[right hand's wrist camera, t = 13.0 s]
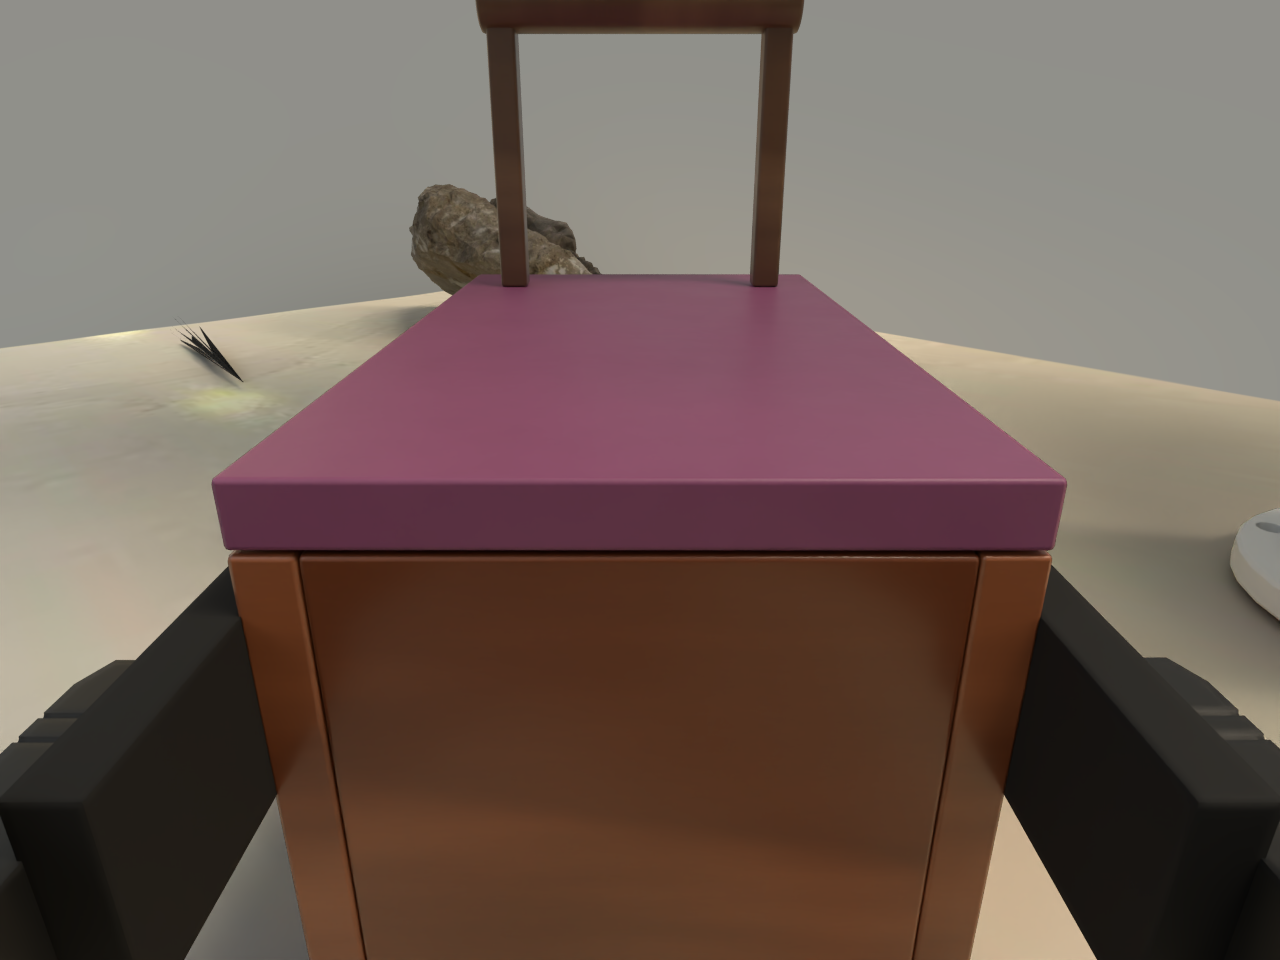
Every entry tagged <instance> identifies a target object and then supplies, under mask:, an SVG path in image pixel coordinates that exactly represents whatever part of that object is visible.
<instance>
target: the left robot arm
mask: <svg viewBox="0 0 1280 960" xmlns="http://www.w3.org/2000/svg"><path fill="white" fill-rule="evenodd" d="M1230 566H1231V569H1232V571H1233V573H1234V575H1235V577H1236V580H1237V581H1238V583H1239V584H1240V585H1241V586H1242V587H1243V588H1244V589H1245V590H1246V592H1247V593H1248V594H1249V595H1250V596H1251V597H1252V598H1253V599H1254V600H1255V602H1256V603H1258V604H1259V605H1260V606H1262V607H1263V608H1264V609H1265V610H1267V611H1268V612H1269V613H1270V614H1272V615H1273V616H1274V617H1276V618H1277V619H1278V620H1279V621H1280V508H1277V509H1273V510H1270V511H1267V512H1264V513H1261V514H1258V515H1256V516H1253V517H1252V518H1250V519H1249V520H1248V521H1246V522H1245V523H1243V524H1242V525H1241V526H1240V528H1239V531H1238V533H1237V535H1236V538H1235V542H1234V545H1233V548H1232V551H1231V558H1230Z"/></svg>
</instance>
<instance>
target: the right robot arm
mask: <svg viewBox="0 0 1280 960" xmlns="http://www.w3.org/2000/svg"><path fill="white" fill-rule="evenodd" d="M276 795H277V792H276V787H275V782H274V777H273V772H272V767H271V762H270V758H269V753H268V748H267V743H266V738H265V733H264V728H263V723H262V719H261V714H260V709H259V704H258V699H257V694H256V689H255V684H254V679H253V675H252V670H251V665H250V660H249V655H248V650H247V645H246V640H245V636H244V631H243V626H242V621H241V617H239V614H238V609H237V605H236V600H235V595H234V590H233V585H232V580H231V575H230V571H229V566H228V567H227V568H226V569H225V570H224V571H223V572H222V573H221V574H220V575H219V576H218V577H217V578H216V579H215V580H214V581H213V582H212V583H211V584H210V585H209V586H208V587H207V588H206V589H205V590H204V591H203V592H202V593H201V594H200V595H199V596H198V597H197V598H196V599H195V600H194V601H193V602H192V603H191V604H190V605H189V607H188V608H187V609H186V610H185V611H184V612H183V613H182V614H181V615H180V616H179V617H178V618H177V619H176V620H175V621H174V622H173V623H172V624H171V625H170V626H169V627H168V628H167V629H166V630H165V631H164V632H163V633H162V634H161V635H160V636H159V637H158V638H157V639H156V640H155V641H154V642H153V643H152V644H151V645H150V646H149V647H148V648H147V649H146V650H145V651H144V652H143V653H142V654H141V655H140V656H139V657H138V658H137V659H136V660H115V661H114V662H112V663H110V664H108V665H107V666H105V667H103V668H101V669H100V670H98V671H96V672H95V673H93V674H91V675H89V676H88V677H86V678H84V679H83V680H81V681H79V682H77V683H76V684H74V685H73V686H72V687H71V688H70V689H69V690H68V691H67V692H65V693H64V694H63V695H62V696H61V697H60V698H59V699H58V700H57V701H56V702H55V703H54V704H53V705H52V706H51V707H50V708H49V709H48V710H46V711H45V712H44V717H43V718H38V719H37V720H36V721H35V722H34V723H33V724H32V725H31V726H30V727H28V728H27V729H26V730H25V731H24V732H23V733H22V734H21V735H20V736H19V741H18V743H12V744H10V745H9V746H8V747H7V748H6V749H5V750H4V751H3V752H2V753H1V754H0V960H184V959H185V957H186V955H187V953H188V952H189V950H190V948H191V946H192V945H193V943H194V941H195V939H196V937H197V936H198V934H199V932H200V930H201V929H202V927H203V925H204V923H205V921H206V920H207V918H208V916H209V914H210V913H211V911H212V909H213V907H214V905H215V904H216V902H217V900H218V898H219V897H220V895H221V893H222V891H223V889H224V888H225V886H226V884H227V882H228V881H229V879H230V877H231V875H232V873H233V872H234V870H235V868H236V866H237V865H238V863H239V861H240V859H241V857H242V856H243V854H244V852H245V850H246V849H247V847H248V845H249V843H250V841H251V840H252V838H253V836H254V834H255V833H256V831H257V829H258V827H259V825H260V824H261V822H262V820H263V818H264V817H265V815H266V813H267V811H268V809H269V808H270V806H271V804H272V802H273V801H274V799H275V797H276ZM1004 795H1005V797H1006V799H1007V801H1008V802H1009V804H1010V806H1011V808H1012V809H1013V811H1014V813H1015V815H1016V816H1017V818H1018V820H1019V822H1020V824H1021V825H1022V827H1023V829H1024V831H1025V832H1026V834H1027V836H1028V838H1029V840H1030V841H1031V843H1032V845H1033V847H1034V848H1035V850H1036V852H1037V854H1038V856H1039V857H1040V859H1041V861H1042V863H1043V864H1044V866H1045V868H1046V870H1047V872H1048V873H1049V875H1050V877H1051V879H1052V880H1053V882H1054V884H1055V886H1056V888H1057V889H1058V891H1059V893H1060V895H1061V896H1062V898H1063V900H1064V902H1065V904H1066V905H1067V907H1068V909H1069V911H1070V912H1071V914H1072V916H1073V918H1074V920H1075V921H1076V923H1077V925H1078V927H1079V928H1080V930H1081V932H1082V934H1083V936H1084V937H1085V939H1086V941H1087V943H1088V944H1089V946H1090V948H1091V950H1092V952H1093V953H1094V955H1095V957H1096V959H1097V960H1280V749H1279V748H1278V747H1277V746H1276V745H1275V744H1274V743H1273V742H1272V741H1271V740H1265V739H1264V737H1263V733H1262V732H1261V731H1260V730H1259V729H1258V728H1257V727H1256V726H1255V725H1254V724H1253V723H1252V722H1250V721H1249V720H1248V719H1247V718H1246V717H1245V716H1239V714H1238V709H1237V708H1236V707H1234V706H1233V705H1232V704H1231V703H1230V702H1229V701H1228V700H1227V699H1226V698H1225V697H1224V696H1223V695H1222V694H1221V693H1220V692H1219V691H1217V690H1216V689H1215V688H1214V687H1213V686H1212V685H1211V684H1210V683H1209V682H1208V681H1206V680H1204V679H1202V678H1201V677H1199V676H1197V675H1196V674H1194V673H1192V672H1190V671H1189V670H1187V669H1185V668H1183V667H1182V666H1180V665H1178V664H1176V663H1175V662H1173V661H1171V660H1170V659H1168V658H1143V657H1142V656H1141V655H1140V654H1139V653H1138V652H1137V651H1136V650H1135V649H1134V648H1133V647H1132V646H1131V645H1130V644H1129V643H1128V642H1127V641H1126V640H1125V639H1124V638H1123V637H1122V636H1121V635H1120V634H1119V633H1118V632H1117V631H1116V630H1115V629H1114V628H1113V627H1112V626H1111V625H1110V624H1109V623H1108V622H1107V621H1106V620H1105V619H1104V617H1103V616H1102V615H1101V614H1100V613H1099V612H1098V611H1097V610H1096V609H1095V608H1094V607H1093V606H1092V605H1091V604H1090V603H1089V602H1088V601H1087V600H1086V599H1085V598H1084V597H1083V596H1082V595H1081V594H1080V593H1079V592H1078V591H1077V590H1076V589H1075V588H1074V587H1073V586H1072V585H1071V584H1070V583H1069V582H1068V581H1067V580H1066V579H1065V578H1064V577H1063V576H1062V575H1061V574H1060V573H1059V572H1058V571H1057V570H1056V569H1055V568H1054V567H1053V566H1052V565H1051V569H1050V573H1049V578H1048V583H1047V588H1046V593H1045V598H1044V603H1043V607H1042V612H1041V617H1040V621H1039V626H1038V631H1037V636H1036V641H1035V646H1034V650H1033V655H1032V660H1031V665H1030V670H1029V675H1028V680H1027V684H1026V689H1025V694H1024V699H1023V704H1022V709H1021V714H1020V719H1019V723H1018V728H1017V733H1016V738H1015V743H1014V748H1013V753H1012V757H1011V762H1010V767H1009V772H1008V777H1007V782H1006V787H1005V791H1004Z"/></svg>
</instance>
